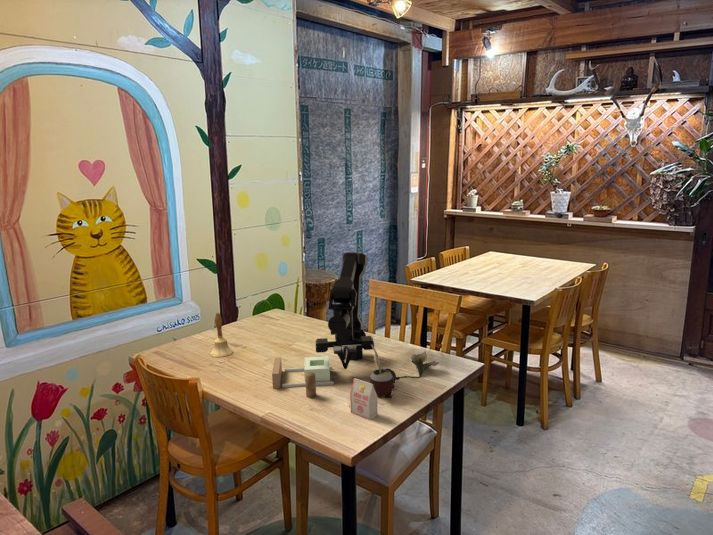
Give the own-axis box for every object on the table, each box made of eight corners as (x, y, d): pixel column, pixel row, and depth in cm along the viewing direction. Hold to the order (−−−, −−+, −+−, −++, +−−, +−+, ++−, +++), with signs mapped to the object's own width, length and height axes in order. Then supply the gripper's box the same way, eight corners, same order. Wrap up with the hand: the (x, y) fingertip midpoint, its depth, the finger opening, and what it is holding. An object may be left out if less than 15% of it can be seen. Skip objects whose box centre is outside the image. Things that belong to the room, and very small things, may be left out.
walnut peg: (316, 396, 158) (315, 372, 156) (316, 400, 155) (315, 376, 153) (306, 397, 158) (305, 372, 156) (306, 401, 155) (305, 376, 153)
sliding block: (329, 370, 174) (328, 356, 173) (330, 383, 164) (329, 368, 163) (305, 371, 174) (304, 357, 173) (305, 384, 164) (304, 369, 163)
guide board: (335, 371, 176) (334, 354, 175) (336, 387, 163) (336, 370, 162) (276, 374, 175) (275, 357, 173) (273, 391, 162) (272, 373, 161)
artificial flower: (376, 388, 165) (373, 357, 166) (427, 377, 179) (424, 348, 179) (394, 390, 158) (390, 358, 159) (446, 379, 171) (442, 349, 172)
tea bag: (359, 407, 150) (358, 375, 148) (377, 414, 146) (376, 381, 144) (350, 412, 148) (349, 380, 145) (369, 419, 143) (368, 386, 141)
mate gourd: (389, 403, 152) (388, 355, 149) (364, 400, 155) (363, 353, 152) (396, 392, 159) (396, 346, 156) (372, 389, 162) (371, 344, 159)
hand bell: (225, 358, 190) (221, 317, 186) (205, 356, 192) (202, 315, 189) (237, 350, 197) (234, 310, 194) (218, 348, 200) (215, 308, 197)
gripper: (370, 314, 174) (371, 357, 178) (314, 317, 173) (316, 360, 176) (373, 324, 164) (374, 370, 167) (314, 327, 162) (316, 374, 165)
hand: (345, 368), depth 169 cm, fingers closed
